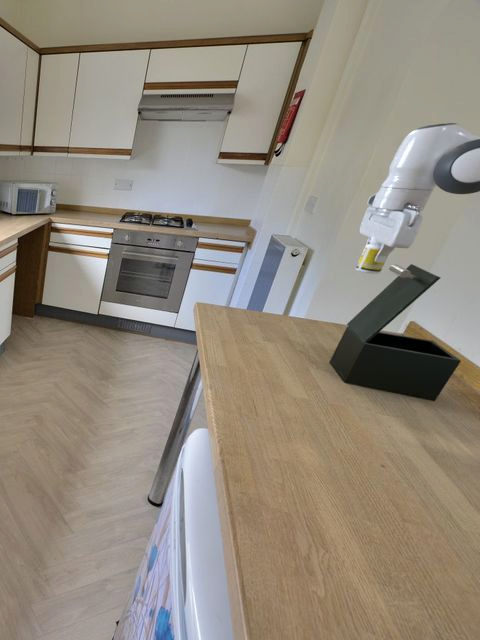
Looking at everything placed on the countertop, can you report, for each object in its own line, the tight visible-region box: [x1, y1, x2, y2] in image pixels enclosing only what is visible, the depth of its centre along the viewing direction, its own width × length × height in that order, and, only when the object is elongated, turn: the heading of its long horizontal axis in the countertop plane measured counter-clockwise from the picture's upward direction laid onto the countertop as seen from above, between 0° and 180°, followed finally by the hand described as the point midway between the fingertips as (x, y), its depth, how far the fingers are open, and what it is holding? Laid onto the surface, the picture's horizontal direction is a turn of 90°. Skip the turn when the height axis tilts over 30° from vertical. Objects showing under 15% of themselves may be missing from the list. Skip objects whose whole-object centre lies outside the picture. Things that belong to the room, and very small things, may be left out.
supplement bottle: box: [355, 237, 389, 275], centre depth 102 cm, size 5×5×8 cm
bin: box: [329, 326, 462, 402], centre depth 91 cm, size 16×11×10 cm
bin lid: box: [346, 263, 442, 343], centre depth 88 cm, size 16×11×4 cm
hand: (372, 259), depth 102 cm, fingers closed on supplement bottle, 5 cm apart
